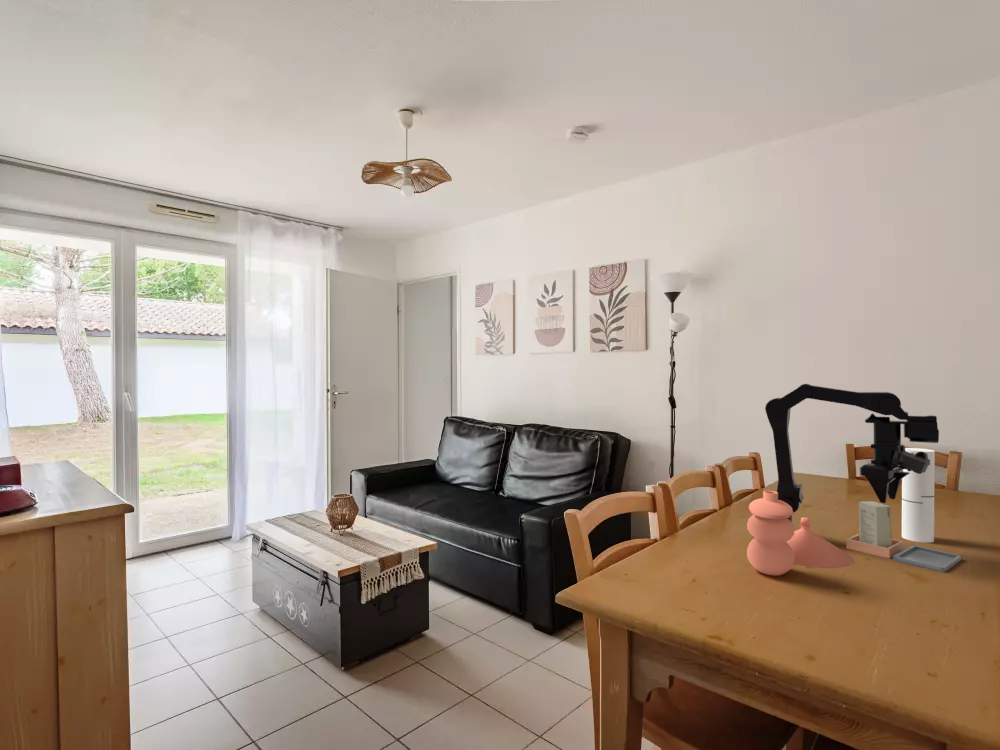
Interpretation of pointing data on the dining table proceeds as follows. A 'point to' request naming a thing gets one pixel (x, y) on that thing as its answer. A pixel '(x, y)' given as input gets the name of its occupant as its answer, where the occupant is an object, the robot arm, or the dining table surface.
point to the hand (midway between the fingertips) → (887, 500)
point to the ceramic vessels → (786, 540)
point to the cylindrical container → (919, 501)
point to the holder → (874, 547)
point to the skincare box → (875, 524)
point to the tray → (927, 558)
